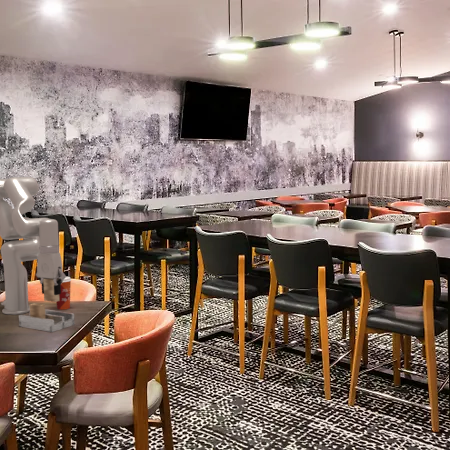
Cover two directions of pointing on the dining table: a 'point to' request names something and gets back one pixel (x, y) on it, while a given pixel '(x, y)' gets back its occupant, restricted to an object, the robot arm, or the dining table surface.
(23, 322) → the rack
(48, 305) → the dining table surface
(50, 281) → the beech board
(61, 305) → the paper cup
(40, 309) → the oak board
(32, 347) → the dining table surface
